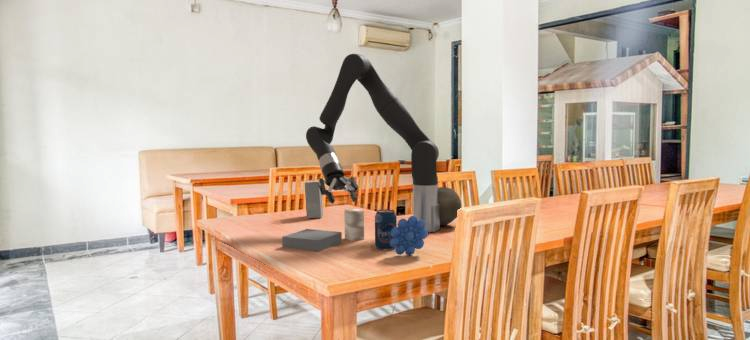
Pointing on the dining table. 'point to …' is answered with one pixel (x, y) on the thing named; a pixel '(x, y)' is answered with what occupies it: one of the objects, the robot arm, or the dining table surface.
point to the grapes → (408, 235)
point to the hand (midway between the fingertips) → (344, 201)
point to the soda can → (384, 228)
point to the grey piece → (354, 224)
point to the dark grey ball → (448, 205)
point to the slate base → (312, 240)
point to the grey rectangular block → (313, 200)
